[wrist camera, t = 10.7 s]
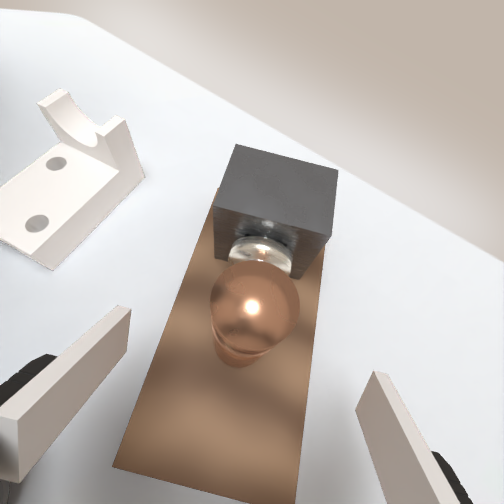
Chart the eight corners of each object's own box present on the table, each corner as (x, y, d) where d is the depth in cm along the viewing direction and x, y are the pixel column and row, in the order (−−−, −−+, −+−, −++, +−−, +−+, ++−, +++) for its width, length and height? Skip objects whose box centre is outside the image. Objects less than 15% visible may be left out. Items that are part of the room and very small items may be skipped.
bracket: (94, 153, 31) (59, 88, 24) (145, 179, 30) (124, 119, 24) (-6, 237, 25) (-87, 182, 19) (54, 272, 24) (-8, 228, 18)
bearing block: (299, 280, 25) (331, 235, 18) (214, 258, 25) (212, 205, 18) (307, 226, 27) (338, 169, 20) (231, 207, 28) (235, 143, 20)
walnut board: (287, 506, 19) (293, 515, 17) (119, 461, 19) (112, 466, 17) (323, 223, 30) (328, 216, 28) (218, 196, 30) (218, 187, 28)
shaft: (263, 375, 20) (302, 362, 11) (202, 358, 20) (188, 332, 11) (297, 201, 28) (335, 107, 19) (252, 189, 28) (269, 91, 19)
